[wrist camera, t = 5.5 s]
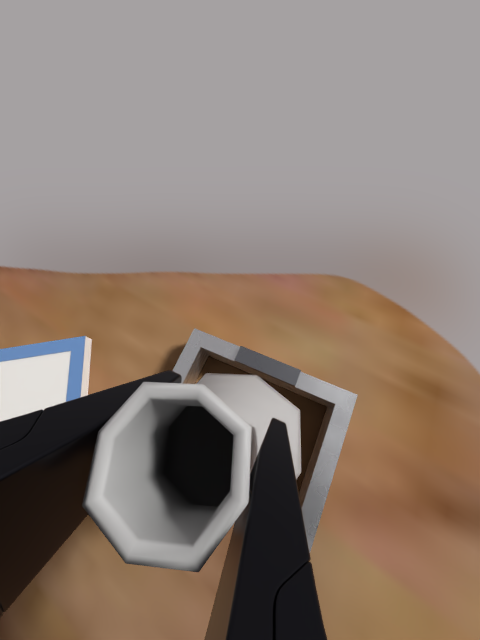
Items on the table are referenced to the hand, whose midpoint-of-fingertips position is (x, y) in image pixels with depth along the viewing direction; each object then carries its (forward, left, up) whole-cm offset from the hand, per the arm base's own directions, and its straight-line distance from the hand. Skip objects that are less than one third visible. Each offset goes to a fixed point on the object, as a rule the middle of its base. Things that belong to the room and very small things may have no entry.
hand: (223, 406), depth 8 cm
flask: (-1, -1, -7) cm, 7 cm away
